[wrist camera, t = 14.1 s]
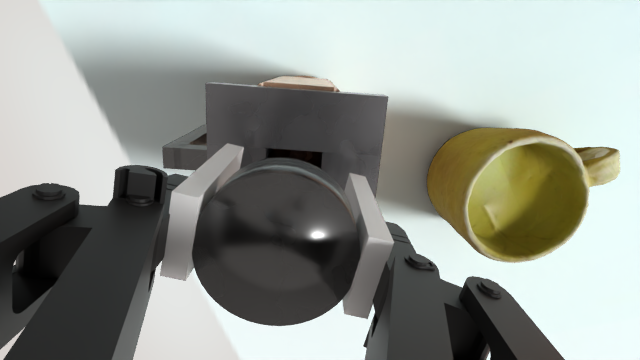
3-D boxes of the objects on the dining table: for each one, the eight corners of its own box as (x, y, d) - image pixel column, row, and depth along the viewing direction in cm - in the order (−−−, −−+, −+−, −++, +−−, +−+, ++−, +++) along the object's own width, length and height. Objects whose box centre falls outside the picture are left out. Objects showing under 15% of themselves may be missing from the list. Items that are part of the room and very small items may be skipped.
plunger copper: (271, 90, 27) (190, 133, 10) (348, 109, 28) (403, 185, 10) (255, 165, 29) (162, 317, 11) (328, 182, 29) (346, 354, 12)
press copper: (216, 178, 32) (152, 249, 20) (214, 68, 29) (139, 71, 17) (351, 187, 32) (372, 262, 20) (362, 80, 30) (395, 90, 17)
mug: (421, 257, 32) (491, 284, 23) (401, 143, 33) (462, 121, 23) (542, 231, 34) (654, 245, 24) (522, 124, 34) (627, 96, 25)
